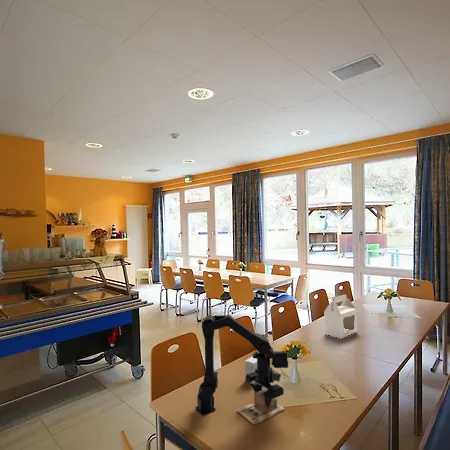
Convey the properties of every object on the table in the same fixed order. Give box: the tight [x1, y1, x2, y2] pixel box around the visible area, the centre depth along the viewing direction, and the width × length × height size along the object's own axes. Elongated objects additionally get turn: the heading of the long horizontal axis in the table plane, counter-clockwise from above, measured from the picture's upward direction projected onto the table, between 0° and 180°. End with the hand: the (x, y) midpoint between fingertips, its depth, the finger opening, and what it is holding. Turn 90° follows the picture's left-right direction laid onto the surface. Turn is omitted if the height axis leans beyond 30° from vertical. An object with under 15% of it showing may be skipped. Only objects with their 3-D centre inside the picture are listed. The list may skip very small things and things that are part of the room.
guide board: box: [236, 397, 285, 426], centre depth 132 cm, size 17×11×4 cm, turn 125°
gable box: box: [323, 294, 358, 340], centre depth 228 cm, size 22×13×28 cm, turn 129°
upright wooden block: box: [253, 388, 274, 412], centre depth 133 cm, size 7×5×6 cm
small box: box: [244, 355, 257, 384], centre depth 160 cm, size 8×6×10 cm
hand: (264, 404), depth 133 cm, fingers closed on upright wooden block, 5 cm apart
